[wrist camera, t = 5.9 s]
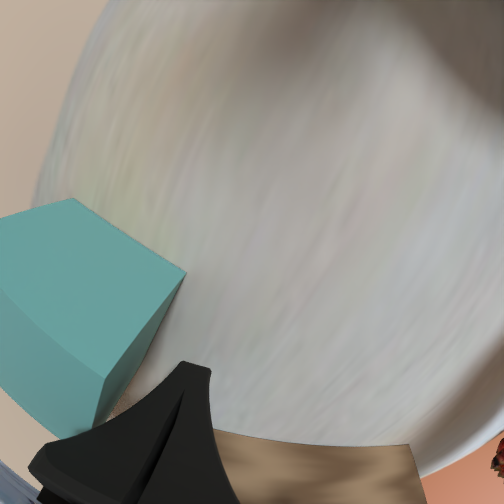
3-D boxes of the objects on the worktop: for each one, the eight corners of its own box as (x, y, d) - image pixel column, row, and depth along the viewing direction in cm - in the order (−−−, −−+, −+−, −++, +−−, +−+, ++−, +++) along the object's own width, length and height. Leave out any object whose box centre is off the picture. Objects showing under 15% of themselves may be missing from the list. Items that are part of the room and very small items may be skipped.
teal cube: (186, 272, 10) (105, 379, 5) (138, 367, 12) (84, 457, 6) (73, 198, 10) (-42, 233, 4) (50, 302, 12) (-24, 361, 6)
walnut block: (408, 444, 13) (427, 504, 8) (397, 455, 13) (412, 513, 8) (187, 421, 13) (160, 500, 8) (185, 434, 14) (161, 506, 8)
